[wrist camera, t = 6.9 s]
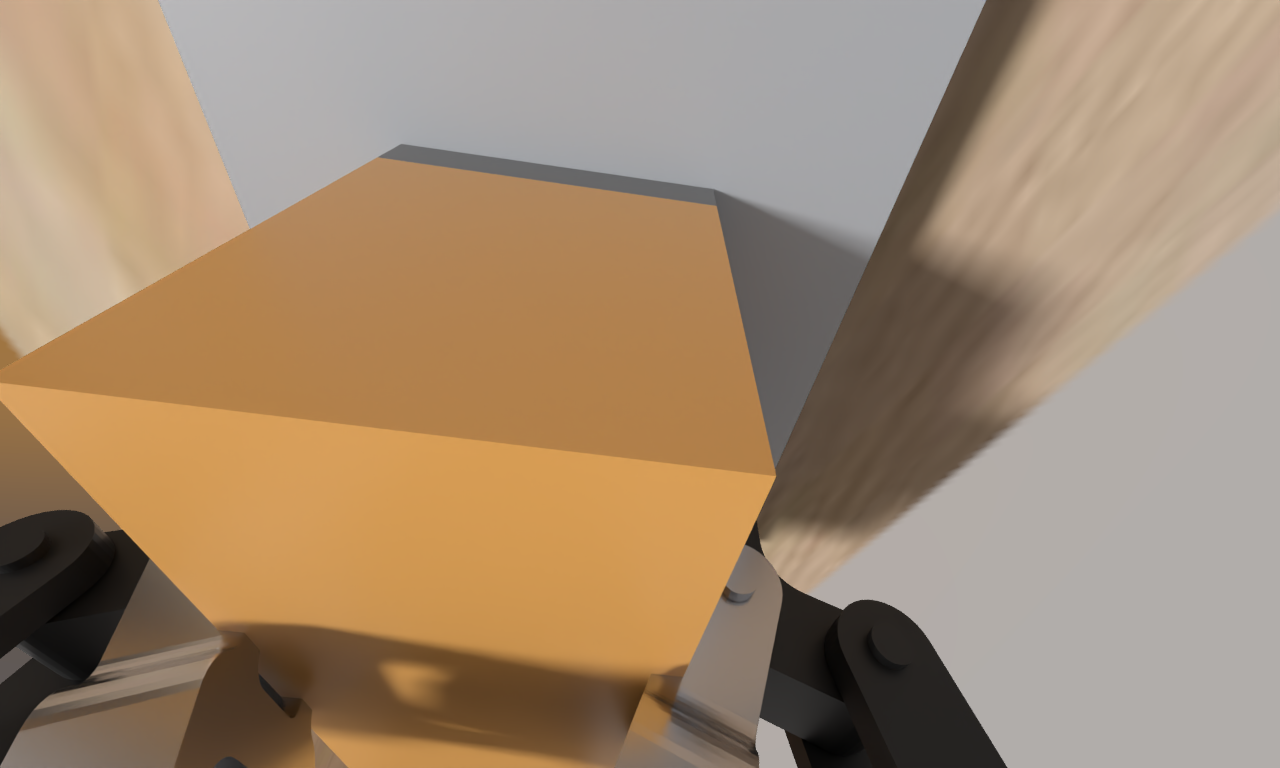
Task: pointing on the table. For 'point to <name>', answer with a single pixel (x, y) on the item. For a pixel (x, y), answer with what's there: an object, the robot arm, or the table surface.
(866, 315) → the table surface
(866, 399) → the table surface
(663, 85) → the board
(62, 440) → the block
